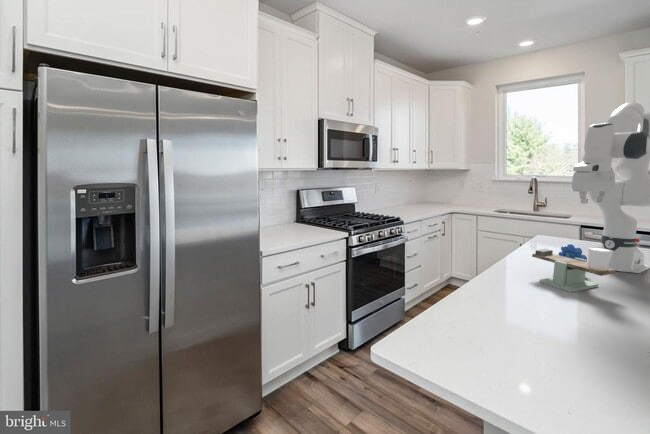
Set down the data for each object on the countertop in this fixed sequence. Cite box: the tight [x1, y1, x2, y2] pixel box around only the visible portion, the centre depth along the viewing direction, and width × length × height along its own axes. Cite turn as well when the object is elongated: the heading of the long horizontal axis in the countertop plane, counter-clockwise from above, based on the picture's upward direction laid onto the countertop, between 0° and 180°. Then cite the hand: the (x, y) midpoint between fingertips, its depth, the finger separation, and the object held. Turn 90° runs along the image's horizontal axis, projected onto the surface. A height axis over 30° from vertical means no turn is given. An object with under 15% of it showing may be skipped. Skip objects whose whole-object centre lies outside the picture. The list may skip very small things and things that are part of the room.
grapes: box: [557, 243, 588, 261], centre depth 152 cm, size 12×7×12 cm, turn 25°
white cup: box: [587, 246, 613, 271], centre depth 127 cm, size 7×7×7 cm
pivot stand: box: [539, 258, 599, 293], centre depth 137 cm, size 16×12×10 cm
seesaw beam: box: [531, 248, 617, 277], centre depth 136 cm, size 26×10×4 cm, turn 23°
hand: (591, 202), depth 137 cm, fingers open, 8 cm apart
